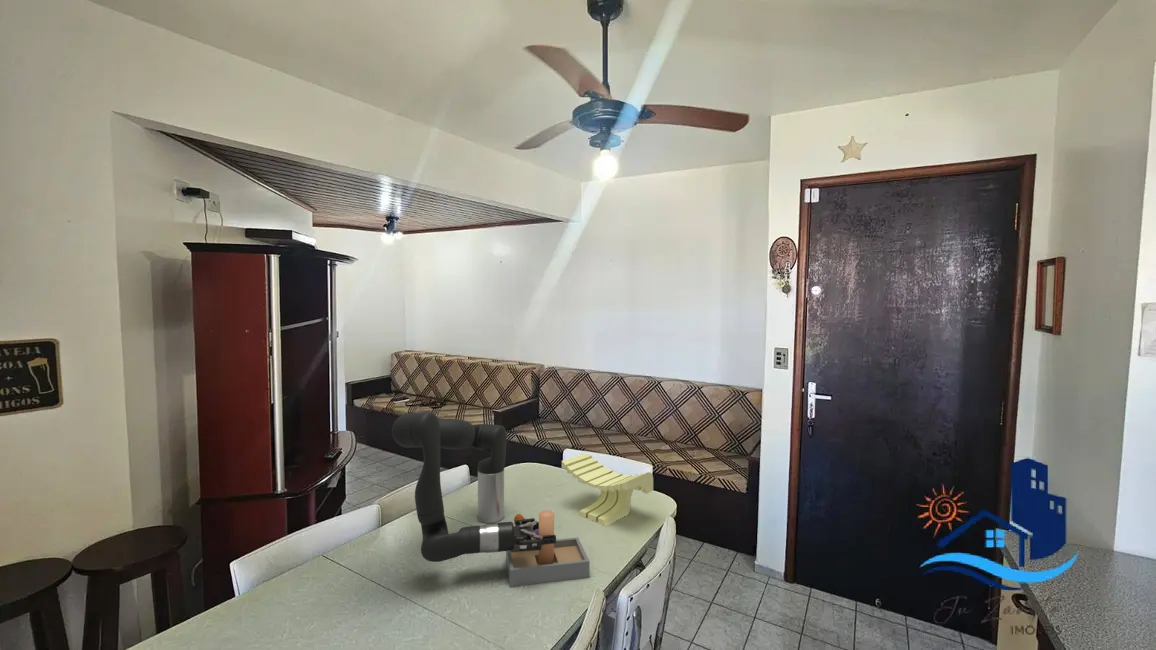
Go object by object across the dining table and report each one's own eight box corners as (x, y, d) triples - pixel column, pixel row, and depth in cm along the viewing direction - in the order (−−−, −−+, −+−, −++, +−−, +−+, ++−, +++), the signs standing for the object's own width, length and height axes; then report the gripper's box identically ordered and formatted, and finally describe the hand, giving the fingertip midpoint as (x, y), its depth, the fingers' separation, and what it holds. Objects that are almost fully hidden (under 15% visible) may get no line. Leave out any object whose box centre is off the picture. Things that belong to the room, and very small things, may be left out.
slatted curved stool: (652, 519, 169) (653, 469, 168) (625, 534, 157) (626, 481, 157) (589, 495, 189) (589, 451, 189) (561, 507, 178) (561, 460, 177)
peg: (537, 564, 138) (537, 511, 138) (552, 563, 139) (552, 509, 139) (539, 573, 134) (540, 517, 133) (554, 571, 135) (555, 516, 134)
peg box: (505, 559, 141) (506, 544, 141) (577, 551, 146) (578, 537, 146) (510, 586, 128) (510, 570, 127) (589, 577, 133) (589, 561, 132)
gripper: (498, 536, 126) (558, 530, 130) (494, 513, 140) (549, 508, 144) (497, 563, 126) (557, 557, 130) (494, 538, 140) (549, 532, 144)
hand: (553, 531), depth 137 cm, fingers open, 8 cm apart
